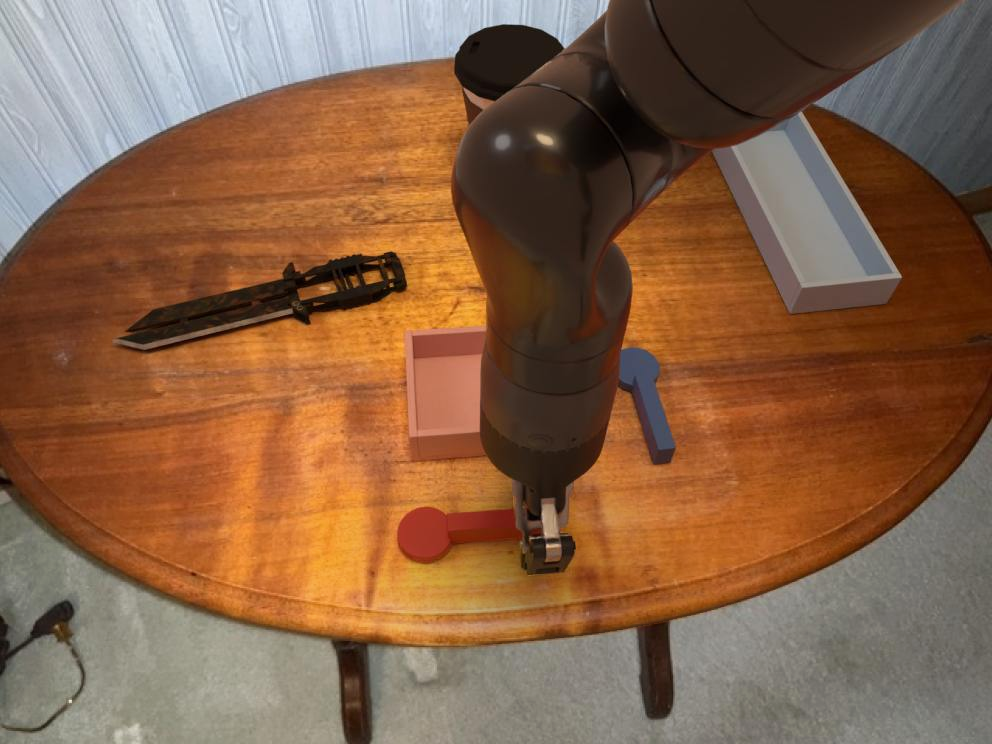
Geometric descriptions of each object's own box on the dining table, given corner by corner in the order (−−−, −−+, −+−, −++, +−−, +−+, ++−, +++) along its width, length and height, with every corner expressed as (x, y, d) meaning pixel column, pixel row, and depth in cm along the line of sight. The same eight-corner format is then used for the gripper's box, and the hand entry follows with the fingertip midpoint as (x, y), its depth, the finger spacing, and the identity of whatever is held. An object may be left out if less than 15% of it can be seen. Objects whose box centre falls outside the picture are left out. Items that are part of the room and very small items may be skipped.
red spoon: (542, 503, 61) (544, 489, 60) (549, 553, 59) (552, 539, 57) (397, 514, 60) (395, 500, 59) (399, 565, 58) (396, 552, 56)
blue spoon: (686, 460, 64) (693, 445, 62) (637, 466, 63) (641, 452, 62) (650, 352, 70) (655, 335, 68) (605, 357, 70) (608, 340, 68)
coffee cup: (444, 184, 82) (440, 78, 73) (469, 118, 89) (468, 13, 79) (551, 201, 81) (561, 96, 71) (568, 134, 88) (580, 29, 78)
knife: (115, 360, 68) (109, 350, 67) (115, 303, 72) (110, 292, 71) (412, 305, 73) (411, 295, 72) (398, 254, 76) (397, 243, 75)
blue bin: (886, 303, 74) (902, 277, 71) (789, 314, 73) (802, 287, 70) (786, 130, 89) (796, 102, 86) (704, 136, 88) (712, 108, 85)
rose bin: (573, 345, 70) (577, 319, 68) (593, 447, 64) (598, 423, 61) (407, 356, 69) (404, 330, 66) (411, 461, 63) (409, 437, 60)
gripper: (638, 499, 42) (598, 617, 56) (591, 291, 50) (566, 437, 64) (492, 511, 41) (488, 627, 55) (469, 299, 50) (470, 444, 64)
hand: (530, 524), depth 59 cm, fingers open, 5 cm apart
